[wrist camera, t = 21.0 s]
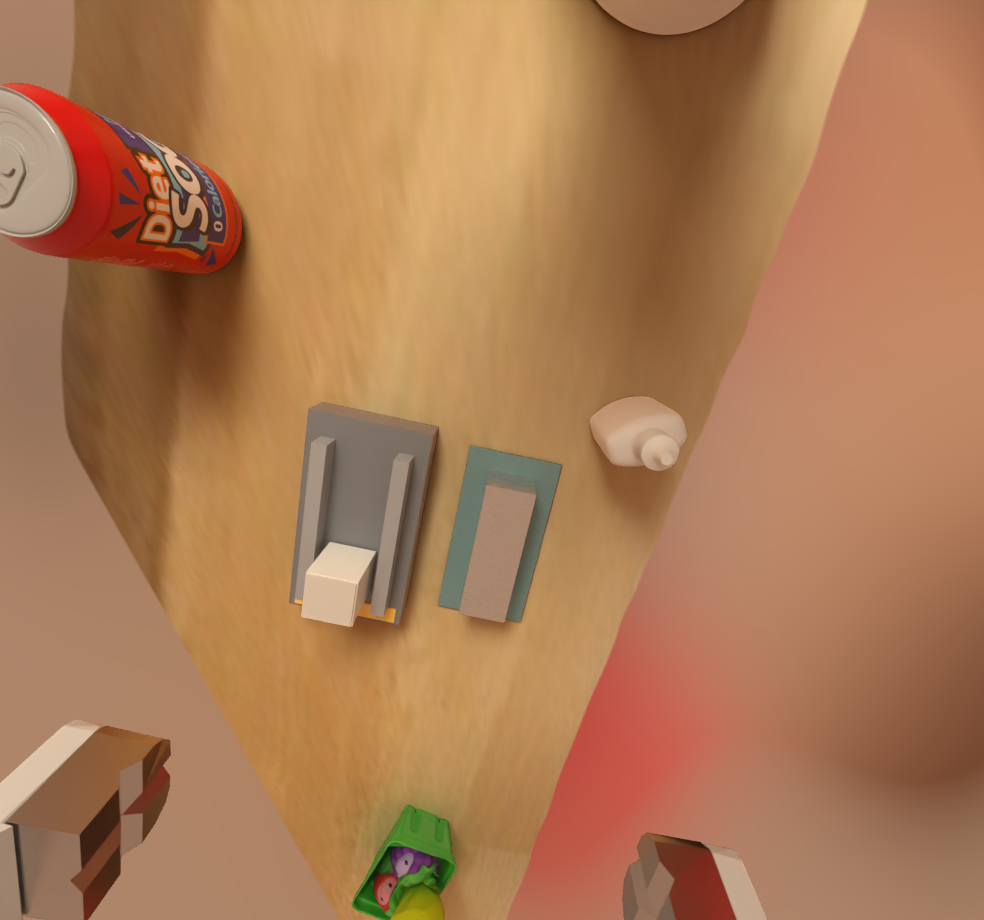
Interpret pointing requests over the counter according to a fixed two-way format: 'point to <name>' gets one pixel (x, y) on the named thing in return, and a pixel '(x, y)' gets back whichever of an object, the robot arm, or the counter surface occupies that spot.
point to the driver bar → (497, 545)
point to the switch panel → (364, 498)
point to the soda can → (106, 190)
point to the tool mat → (469, 513)
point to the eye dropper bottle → (639, 433)
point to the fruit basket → (409, 870)
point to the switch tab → (338, 584)
